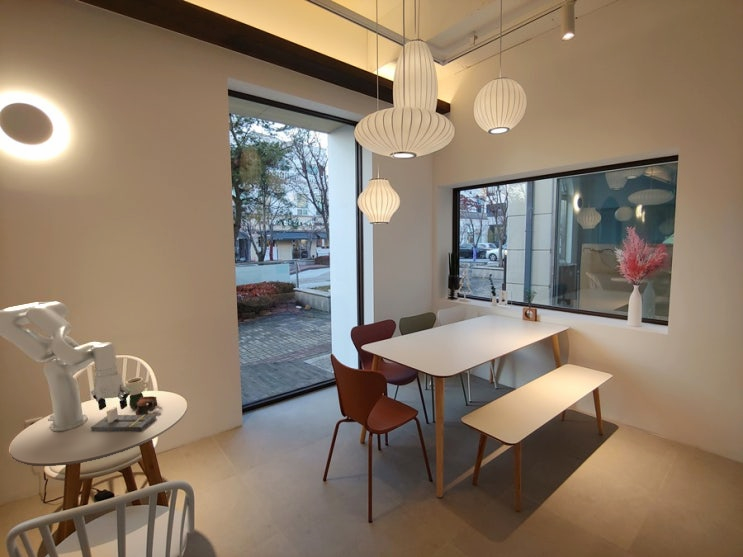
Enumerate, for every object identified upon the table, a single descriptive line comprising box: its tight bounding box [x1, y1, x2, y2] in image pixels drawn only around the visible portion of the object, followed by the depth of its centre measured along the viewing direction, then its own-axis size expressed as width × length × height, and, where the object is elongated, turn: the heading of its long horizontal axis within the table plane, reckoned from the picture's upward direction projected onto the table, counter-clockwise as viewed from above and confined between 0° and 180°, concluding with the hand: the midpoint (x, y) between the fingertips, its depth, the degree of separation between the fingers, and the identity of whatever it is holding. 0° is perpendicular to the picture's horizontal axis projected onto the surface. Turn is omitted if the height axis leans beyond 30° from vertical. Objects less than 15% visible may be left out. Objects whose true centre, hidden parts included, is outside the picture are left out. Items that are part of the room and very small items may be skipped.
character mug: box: [124, 377, 149, 408], centre depth 174 cm, size 11×7×13 cm, turn 121°
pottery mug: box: [134, 395, 158, 415], centre depth 169 cm, size 12×9×8 cm
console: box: [90, 414, 157, 432], centre depth 157 cm, size 22×10×2 cm, turn 88°
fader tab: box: [106, 406, 119, 422], centre depth 156 cm, size 2×4×5 cm, turn 178°
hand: (113, 408), depth 156 cm, fingers open, 9 cm apart
